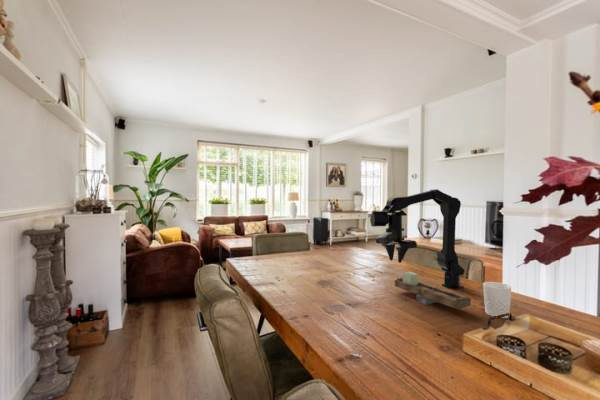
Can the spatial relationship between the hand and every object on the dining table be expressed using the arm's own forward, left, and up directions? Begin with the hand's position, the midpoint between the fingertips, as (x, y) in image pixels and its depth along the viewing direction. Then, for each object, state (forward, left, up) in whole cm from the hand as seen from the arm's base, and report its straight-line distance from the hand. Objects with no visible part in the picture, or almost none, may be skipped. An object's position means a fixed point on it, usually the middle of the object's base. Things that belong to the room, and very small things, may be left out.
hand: (395, 261), depth 123 cm
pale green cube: (0, +8, -8) cm, 11 cm away
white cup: (-10, +36, -12) cm, 39 cm away
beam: (0, +17, -12) cm, 21 cm away
